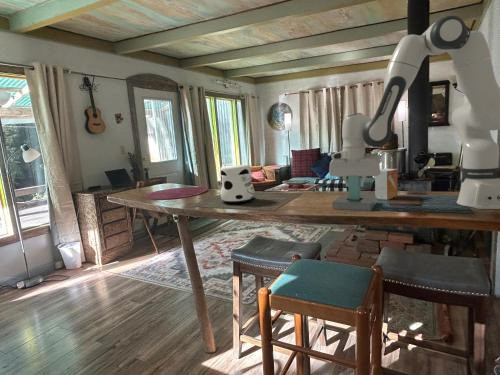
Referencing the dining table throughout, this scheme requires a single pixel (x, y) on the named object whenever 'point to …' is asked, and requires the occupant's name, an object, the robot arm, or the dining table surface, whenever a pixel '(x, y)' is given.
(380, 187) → the small box
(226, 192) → the milk container
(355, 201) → the socket
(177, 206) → the dining table surface
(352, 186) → the peg
